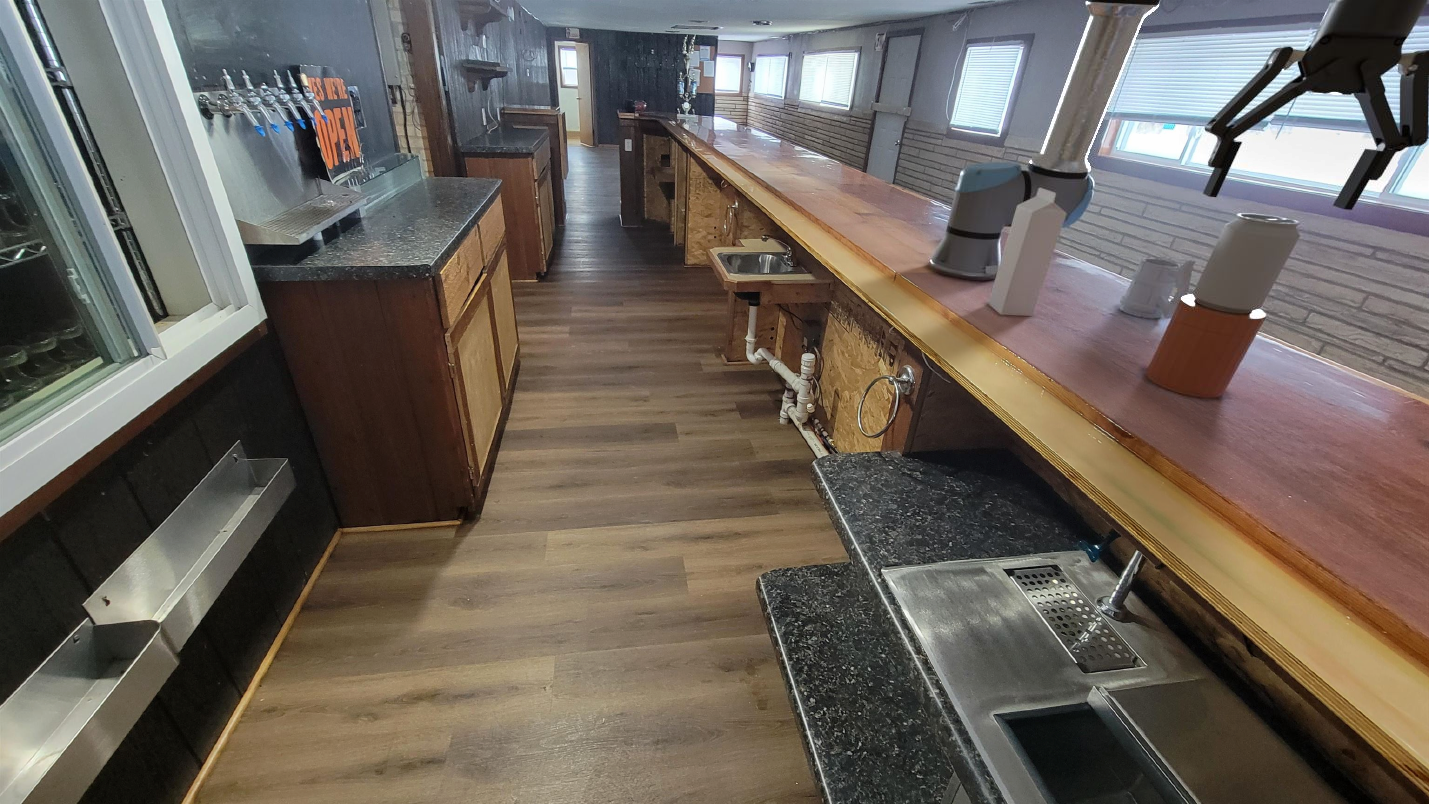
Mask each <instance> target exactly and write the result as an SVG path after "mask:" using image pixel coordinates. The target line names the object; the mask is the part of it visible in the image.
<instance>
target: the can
mask: <svg viewBox="0 0 1429 804" xmlns="http://www.w3.org/2000/svg"><path fill="white" fill-rule="evenodd" d="M1235 216H1236V218H1235V219H1234V220H1232V221H1230V222H1228V223H1226V224H1225V225H1224V227H1223V229H1222V231H1221V233H1220V236H1219V237H1218V239H1217V242H1216V243H1215V246H1214V248H1213V250H1212V251H1211V254H1210V256H1209V258H1208V260H1207V262H1206V263H1205V267H1204V268H1203V270H1202V273H1201V275H1200V277H1199V279H1198V282H1197V284H1196V285H1195V287H1194V289H1193V291H1192V295H1193V296H1194V297H1195V299H1196V300H1197V302H1198V303H1199V304H1201V305H1203V306H1205V307H1208V308H1211V309H1215V310H1219V311H1223V312H1229V313H1239V314H1245V313H1249V312H1251V311H1254V310H1257V309H1261V308H1262V306H1263V305H1264V303H1265V301H1266V299H1267V297H1268V296H1269V294H1270V292H1271V291H1272V288H1273V287H1274V285H1275V283H1276V281H1277V280H1278V278H1279V276H1280V274H1281V272H1282V270H1283V269H1284V266H1285V265H1286V263H1287V261H1288V260H1289V257H1290V256H1291V254H1292V252H1293V250H1294V248H1295V246H1296V245H1297V243H1298V241H1299V239H1300V237H1301V235H1300V233H1299V231H1298V229H1297V227H1298V225H1300V224H1301V222H1300V221H1298V220H1295V219H1291V218H1288V217H1282V216H1276V215H1270V214H1263V213H1262V214H1261V213H1250V212H1249V213H1248V212H1243V213H1242V212H1240V213H1237V214H1236V215H1235Z"/></svg>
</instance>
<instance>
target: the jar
mask: <svg viewBox="0 0 1429 804" xmlns="http://www.w3.org/2000/svg"><path fill="white" fill-rule="evenodd" d="M1266 318H1267V313H1266V312H1265V311H1264V310H1262V309H1261V308H1259V309H1257V310H1254V311H1251V312H1249V313H1245V314H1239V313H1229V312H1223V311H1219V310H1215V309H1211V308H1208V307H1205V306H1203V305H1201V304H1199V303H1198V302H1197V300H1196V299H1195V297H1194V296H1193V294H1187V295H1186V296H1182V297H1181V299H1180V301H1179V303H1178V305H1177V308H1176V310H1175V312H1174V314H1173V316H1172V318H1170V319H1169V320H1170V321H1169V322H1168V325H1167V326H1166V329H1165V331H1164V333H1163V335H1162V338H1161V340H1160V341H1159V343H1158V345H1157V348H1156V350H1155V352H1154V354H1153V356H1152V358H1151V360H1150V363H1149V365H1148V367H1147V370H1146V372H1145V376H1146V377H1147V379H1149V380H1150V381H1151V382H1152V383H1154V384H1156V385H1158V386H1159V387H1162V388H1163V389H1166V390H1168V391H1171V392H1175V393H1178V394H1181V395H1185V396H1188V397H1189V396H1190V397H1194V398H1195V397H1196V398H1202V399H1214V398H1219V397H1221V396H1223V394H1224V393H1225V392H1226V390H1227V387H1228V386H1229V385H1230V383H1231V381H1232V379H1233V377H1234V376H1235V374H1236V372H1237V370H1238V368H1239V367H1240V365H1241V363H1242V361H1243V360H1244V358H1245V356H1246V354H1247V353H1248V350H1249V349H1250V347H1251V345H1252V343H1253V341H1254V340H1255V338H1256V336H1257V334H1258V333H1259V331H1260V330H1261V327H1262V325H1263V324H1264V322H1265V320H1266Z"/></svg>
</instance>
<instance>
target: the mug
mask: <svg viewBox="0 0 1429 804" xmlns="http://www.w3.org/2000/svg"><path fill="white" fill-rule="evenodd" d="M1195 264H1196V260H1193V259H1192V260H1191V259H1190V260H1187V261H1185V262H1184V263H1183V264H1180V263H1178V262H1175V261H1171V260H1168V259H1164V258H1151V257H1144V258H1141V260H1140V262H1139V265H1138V267H1137V269H1136V271H1135V272H1133V274H1131V277H1130V278H1131V281H1130V284H1129V285H1128V288H1127V290H1126V292H1125V294H1124V295H1122V296H1121V297H1120V300H1119V303H1120V304H1119V310H1120V311H1121V312H1124V314H1128V315H1131V316H1134V317H1138V318H1144V319H1151V320H1153V319H1159V318H1162V316H1163V318H1164V319H1166V320H1171V318H1172V316H1173V314H1174V312H1175V310H1176V308H1177V305H1178V303H1179V301H1180V299H1181V297H1182V296H1186V295H1188V293H1189V290H1190V285H1191V278H1192V275H1193V268H1194V266H1195ZM1175 287H1176V292H1175V293H1174V295H1173V298H1172V299H1170V297H1171V295H1172V292H1173V289H1174V288H1175ZM1169 299H1170V300H1169Z"/></svg>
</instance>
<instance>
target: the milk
mask: <svg viewBox="0 0 1429 804" xmlns="http://www.w3.org/2000/svg"><path fill="white" fill-rule="evenodd" d="M1055 197H1056V193H1055V192H1052V191H1049V190H1046V189H1043V188H1039V189H1038V192H1037V195H1036V196H1035V197H1033V198H1031V199H1029V200H1027V201H1025V202H1023V203H1021V204H1019V205H1017V208H1016V211H1015V215H1014V218H1013V221H1012V225H1011V227H1010V228H1009V231H1008V235H1007V239H1006V242H1005V246H1004V248H1003V252H1002V256H1001V262H1000V265H999V269H998V272H997V275H996V278H995V279H994V283H993V286H992V289H991V293H990V296H989V300H988V302H987V304H988V305H989V306H990V308H992V309H994V310H995V311H996V312H997V313H998V314H1000V315H1001V316H1024V317H1032V316H1033V314H1034V311H1035V307H1036V305H1037V302H1038V299H1039V296H1040V293H1041V291H1042V287H1043V284H1044V283H1045V278H1046V275H1047V273H1048V270H1049V267H1050V263H1051V261H1052V258H1053V255H1054V252H1055V249H1056V246H1057V243H1058V240H1059V238H1060V234H1061V231H1062V229H1063V228H1062V226H1063V223H1064V220H1065V217H1066V214H1067V213H1066V212H1065V211H1063V210H1062V209H1061V208H1060V207H1059V206H1057V205H1056V204H1055V203H1054V200H1055Z"/></svg>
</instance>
